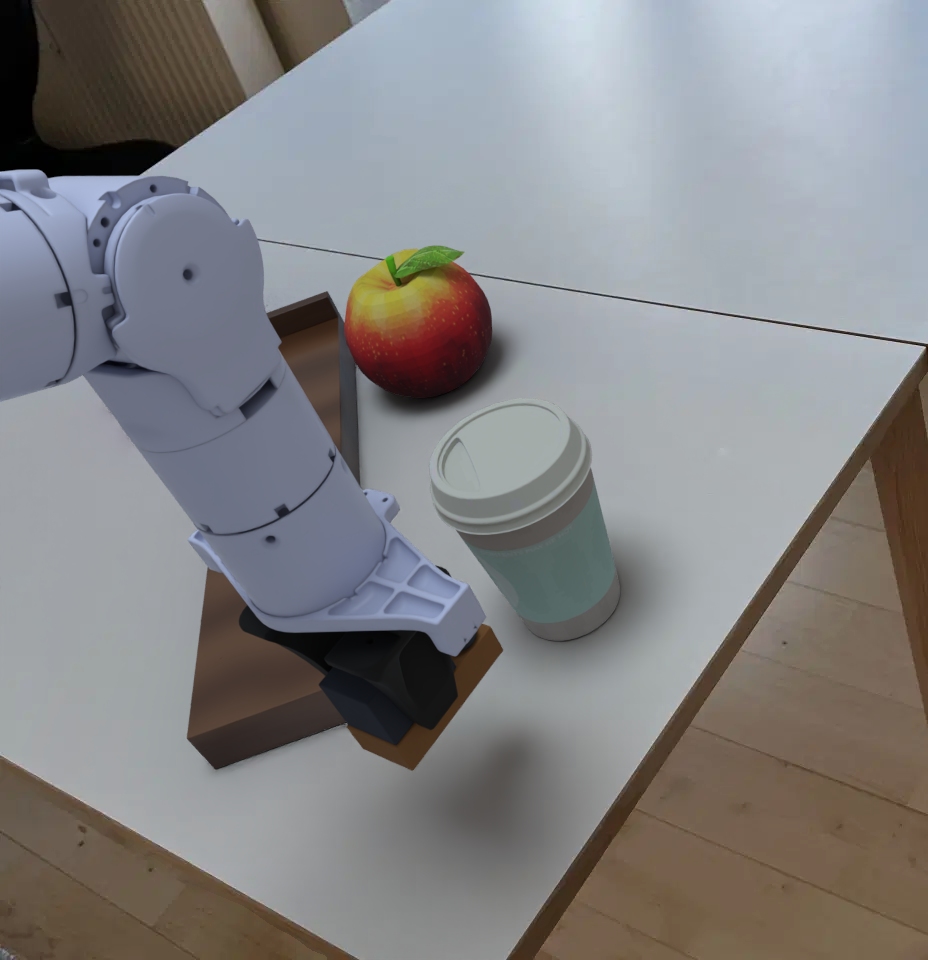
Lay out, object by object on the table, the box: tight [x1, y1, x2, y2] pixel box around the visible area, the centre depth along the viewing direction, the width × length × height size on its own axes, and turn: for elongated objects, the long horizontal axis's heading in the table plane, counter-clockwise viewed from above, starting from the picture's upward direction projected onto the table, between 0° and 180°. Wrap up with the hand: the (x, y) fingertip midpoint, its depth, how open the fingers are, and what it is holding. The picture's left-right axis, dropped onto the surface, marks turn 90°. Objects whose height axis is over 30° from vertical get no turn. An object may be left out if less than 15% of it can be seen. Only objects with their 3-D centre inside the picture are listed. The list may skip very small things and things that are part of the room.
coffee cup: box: [428, 397, 621, 642], centre depth 59 cm, size 8×8×12 cm
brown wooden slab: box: [186, 290, 361, 770], centre depth 74 cm, size 40×9×5 cm, turn 13°
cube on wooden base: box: [319, 623, 504, 772], centre depth 49 cm, size 7×3×5 cm, turn 149°
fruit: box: [344, 245, 493, 399], centre depth 81 cm, size 11×11×10 cm
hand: (409, 698), depth 49 cm, fingers closed on cube on wooden base, 3 cm apart
